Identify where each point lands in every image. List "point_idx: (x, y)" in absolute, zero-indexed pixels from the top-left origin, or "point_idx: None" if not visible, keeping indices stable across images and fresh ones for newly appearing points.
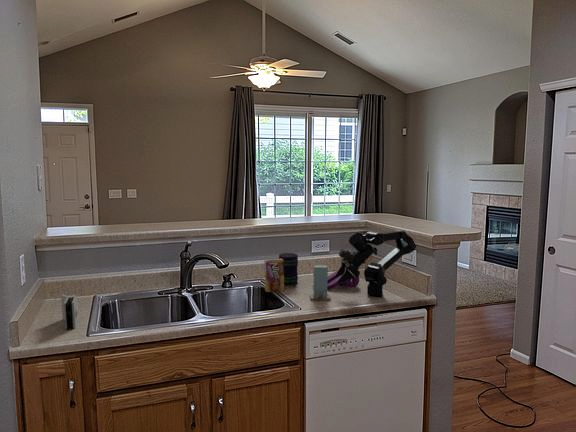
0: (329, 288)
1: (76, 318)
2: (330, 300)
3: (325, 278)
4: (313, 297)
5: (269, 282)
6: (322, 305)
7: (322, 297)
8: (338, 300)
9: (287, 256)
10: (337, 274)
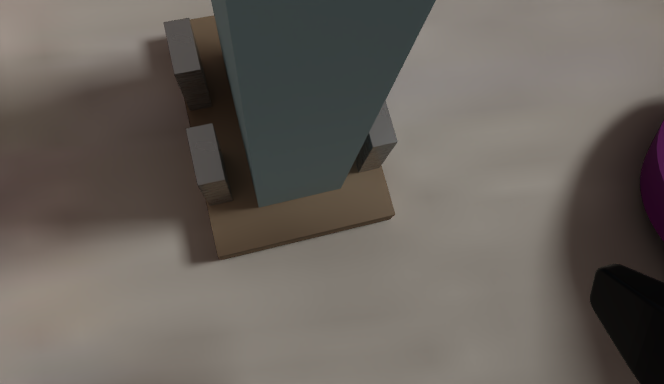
0: (647, 193)
1: None
2: (221, 257)
3: (233, 70)
4: (218, 47)
5: None
6: (12, 183)
7: (238, 150)
8: (249, 358)
9: None
10: (635, 315)
